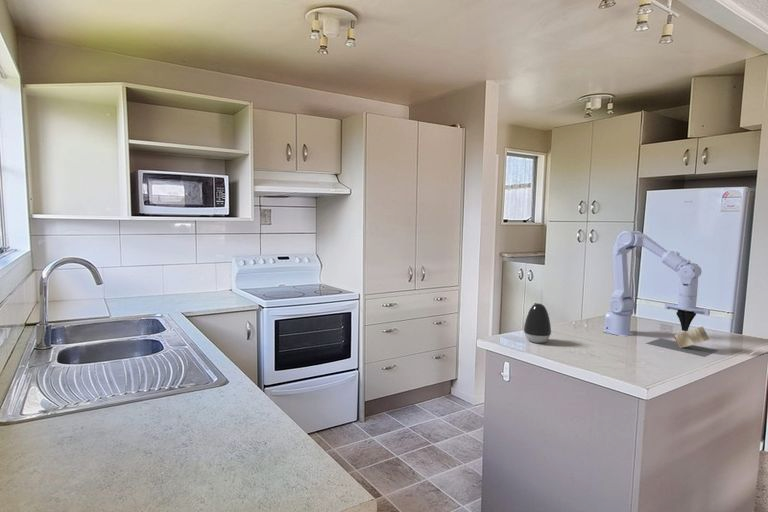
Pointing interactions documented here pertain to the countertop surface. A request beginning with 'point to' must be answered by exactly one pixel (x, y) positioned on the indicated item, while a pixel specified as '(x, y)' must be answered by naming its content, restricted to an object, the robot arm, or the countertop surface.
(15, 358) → the countertop surface
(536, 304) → the black egg shape
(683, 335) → the block
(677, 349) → the mat
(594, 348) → the countertop surface
